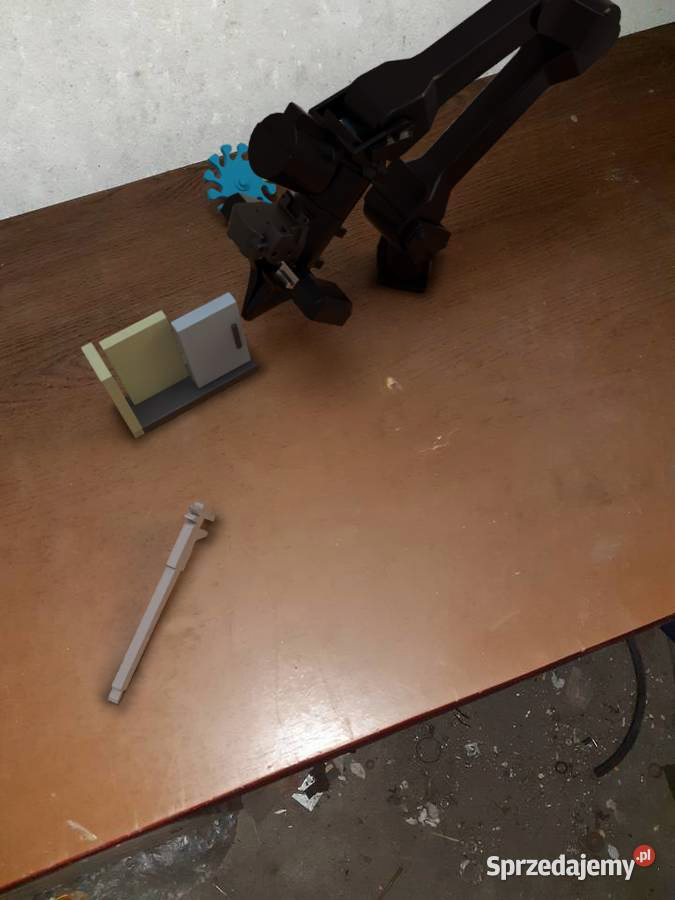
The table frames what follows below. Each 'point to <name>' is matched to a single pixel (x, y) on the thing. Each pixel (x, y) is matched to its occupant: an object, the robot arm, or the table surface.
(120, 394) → the closet frame
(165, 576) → the caliper
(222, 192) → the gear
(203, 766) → the table surface
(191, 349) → the closet door
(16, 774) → the table surface
